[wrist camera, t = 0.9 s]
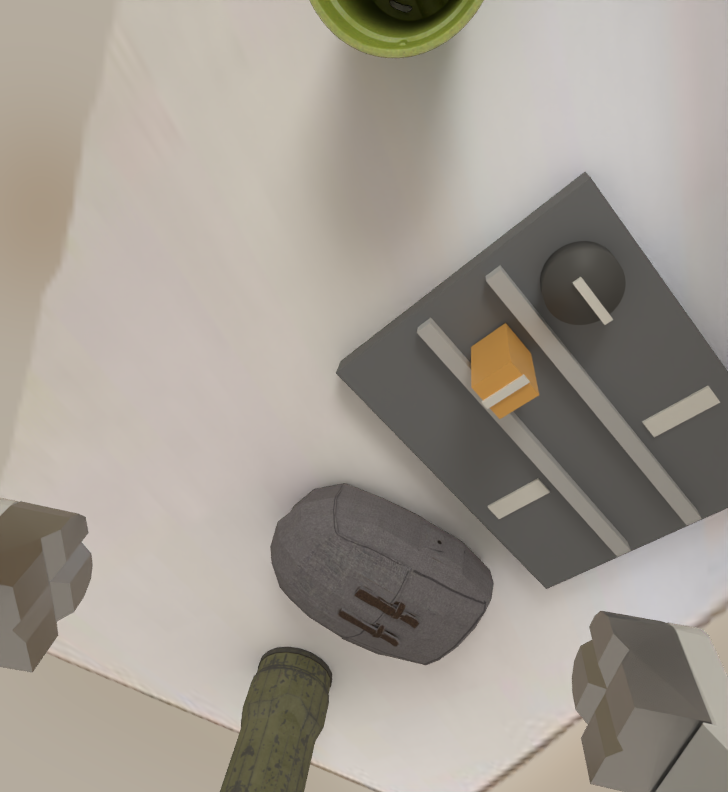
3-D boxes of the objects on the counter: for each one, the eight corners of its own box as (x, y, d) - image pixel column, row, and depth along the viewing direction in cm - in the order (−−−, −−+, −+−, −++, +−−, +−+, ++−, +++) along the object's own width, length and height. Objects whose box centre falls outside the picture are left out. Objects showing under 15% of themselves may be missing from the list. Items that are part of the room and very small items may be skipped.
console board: (585, 171, 38) (597, 185, 35) (788, 459, 46) (816, 494, 43) (340, 361, 48) (330, 387, 44) (544, 572, 56) (549, 609, 52)
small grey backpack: (511, 548, 55) (323, 443, 53) (517, 622, 48) (300, 506, 46) (423, 632, 63) (255, 544, 60) (417, 706, 56) (226, 611, 53)
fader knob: (506, 321, 42) (512, 361, 37) (532, 352, 43) (541, 395, 37) (469, 347, 43) (470, 389, 38) (495, 376, 44) (498, 421, 39)
